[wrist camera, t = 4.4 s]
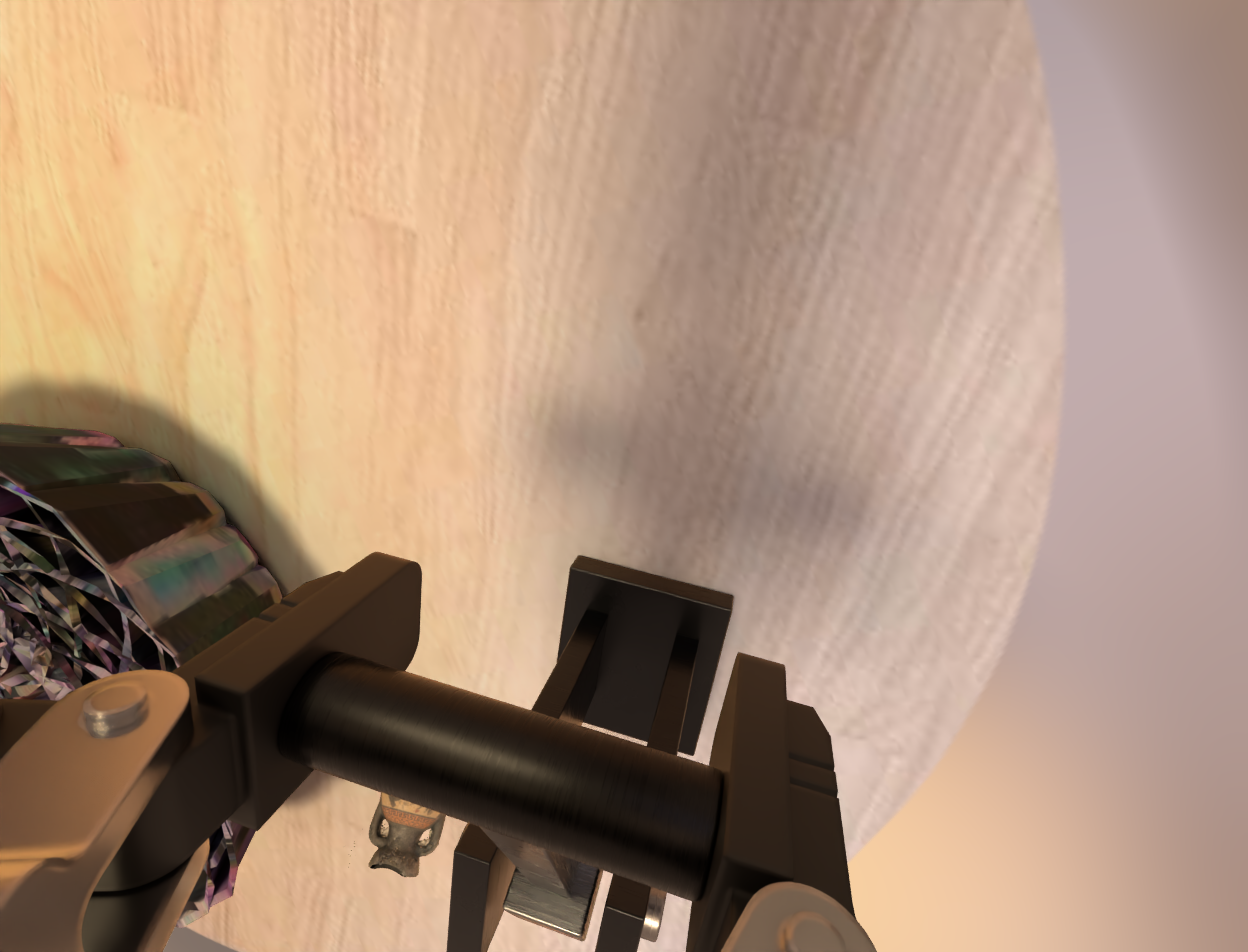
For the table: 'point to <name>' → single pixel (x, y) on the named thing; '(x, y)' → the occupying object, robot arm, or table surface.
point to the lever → (513, 783)
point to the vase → (403, 835)
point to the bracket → (609, 722)
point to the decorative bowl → (117, 582)
